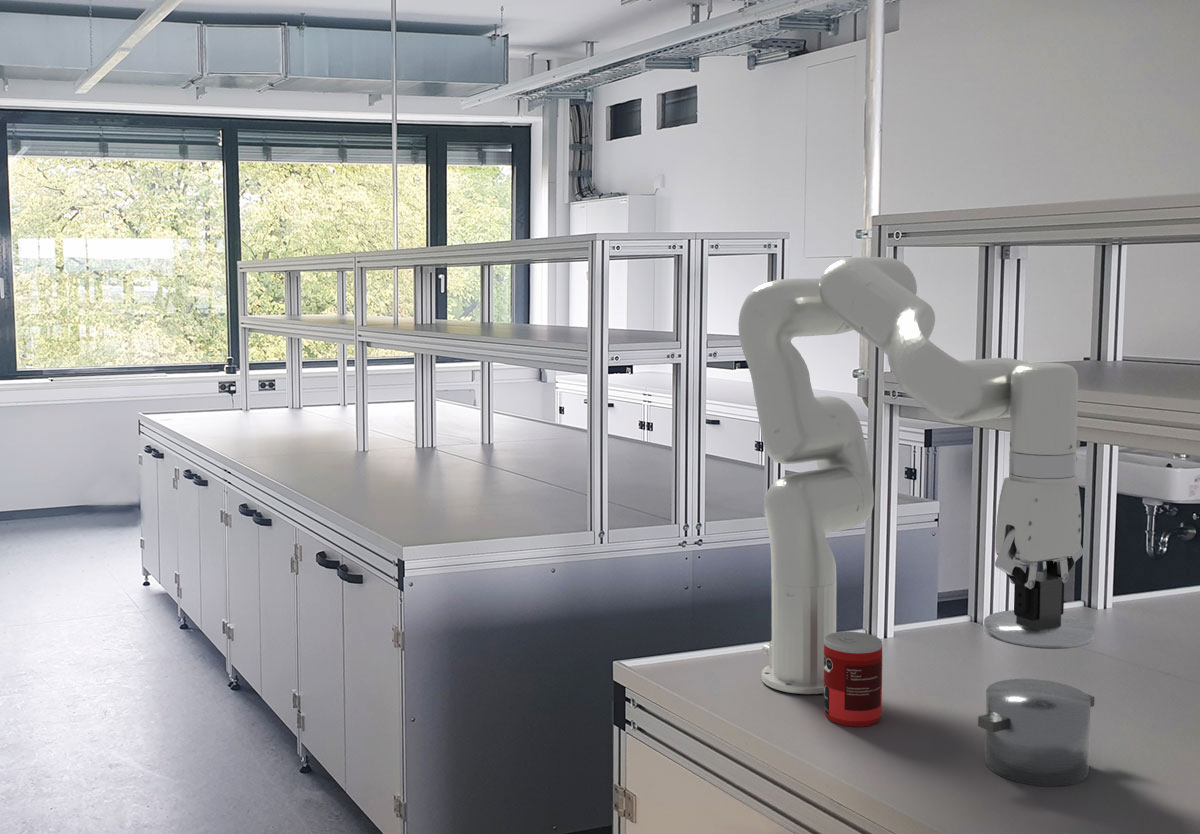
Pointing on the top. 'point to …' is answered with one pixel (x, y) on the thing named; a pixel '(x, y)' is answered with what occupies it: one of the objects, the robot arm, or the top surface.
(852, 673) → the canned food
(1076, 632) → the lid
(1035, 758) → the pot
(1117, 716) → the top surface
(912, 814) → the top surface
